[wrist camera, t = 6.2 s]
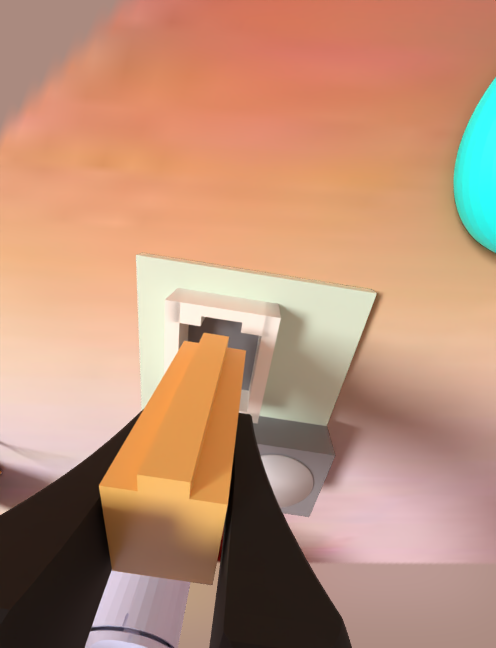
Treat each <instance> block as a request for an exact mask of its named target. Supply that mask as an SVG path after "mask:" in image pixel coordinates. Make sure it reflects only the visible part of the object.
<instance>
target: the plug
mask: <svg viewBox="0 0 496 648" xmlns="http://www.w3.org/2000/svg"><path fill="white" fill-rule="evenodd" d="M228 341H229V337H228V336H222V335H216V334H209V333H203V335H202V337H201V340H200V342H199V343H195V342H189V341H184V342H183V344H182V345H181V347H180V349H179V350H178V352H177V354H176V356H175V357H174V359H173V361H172V362H171V364H170V366H169V367H168V369H167V371H166V373H165V374H164V376H163V378H162V379H161V381H160V383H159V384H158V386H157V388H156V389H155V391H154V393H153V395H152V396H151V398H150V400H149V401H148V403H147V405H146V406H145V408H144V410H143V412H142V413H141V415H140V417H139V418H138V420H137V422H136V423H135V425H134V427H133V428H132V430H131V432H130V434H129V435H128V437H127V439H126V440H125V442H124V444H123V445H122V447H121V449H120V451H119V452H118V454H117V456H116V457H115V459H114V461H113V462H112V464H111V466H110V467H109V469H108V471H107V473H106V474H105V476H104V478H103V479H102V481H101V483H100V484H99V490H100V496H101V503H102V509H103V516H104V522H105V528H106V535H107V541H108V547H109V554H110V560H111V567H112V571H117V572H124V573H131V574H138V575H145V576H152V577H159V578H166V579H173V580H180V581H186V582H193V583H200V584H207V585H213V580H214V574H215V569H216V564H217V559H218V553H219V548H220V543H221V538H222V532H223V527H224V522H225V517H226V511H227V506H228V498H229V490H230V481H231V473H232V465H233V456H234V448H235V440H236V431H237V423H238V414H239V406H240V398H241V389H242V381H243V372H244V364H245V356H246V350H240V349H234V348H228Z"/></svg>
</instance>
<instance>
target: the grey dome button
mask: <svg viewBox="0 0 496 648" xmlns="http://www.w3.org/2000/svg"><path fill="white" fill-rule="evenodd" d="M253 427H254V432H255V437H256V441H257V445H258V449H259V452H260V455H261V459H262V462H263V465H264V468H265V471H266V474H267V477H268V479H269V482H270V485H271V487H272V490H273V492H274V495H275V497H276V499H277V502H278V504H279V506H280V508H281V511H282V513H285V514H292V515H298V516H305V517H309V516H310V514H311V512H312V509H313V507H314V505H315V502H316V500H317V498H318V495H319V493H320V490H321V488H322V486H323V483H324V481H325V479H326V476H327V474H328V472H329V469H330V467H331V465H332V462H333V460H334V458H335V453H334V449H333V446H332V442H331V439H330V436H329V432H328V429H327V426H323V425H316V424H310V423H303V422H297V421H290V420H283V419H277V418H270V417H264V416H259V419H258V424H257V423H253Z"/></svg>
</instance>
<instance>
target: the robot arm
mask: <svg viewBox="0 0 496 648" xmlns="http://www.w3.org/2000/svg"><path fill="white" fill-rule="evenodd" d="M143 410H144V409H143ZM143 410H142V411H141V412H140V413H139V414H138V415H137V416H136V417H135V418H134V419H132V420H131V421H130V422H129V423H128V424H127V425H126V426H125V427H124V428H123V429H121V430H120V431H119V432H118V433H117V434H116V435H115V436H114V437H112V438H111V439H110V440H109V441H108V442H106V443H105V444H104V445H103V446H102V447H100V448H99V449H98V450H97V451H95V452H94V453H93V454H92V455H90V456H89V457H88V458H87V459H85V460H84V461H83V462H81V463H80V464H79V465H77V466H76V467H75V468H73V469H72V470H70V471H69V472H68V473H66V474H65V475H63V476H62V477H60V478H59V479H57V480H56V481H54V482H53V483H51V484H50V485H48V486H47V487H45V488H44V489H43V490H41V491H39V492H38V493H36V494H35V495H33V496H32V497H30V498H28V499H27V500H25V501H24V502H22V503H20V504H18V505H17V506H15V507H13V508H12V509H10V510H8V511H7V512H5V513H3V514H2V515H0V648H178V643H179V638H180V633H181V628H182V623H183V618H184V613H185V608H186V602H187V597H188V592H189V587H190V582H186V581H180V580H173V579H166V578H159V577H152V576H145V575H138V574H131V573H124V572H117V571H112V567H111V560H110V554H109V547H108V541H107V535H106V528H105V522H104V516H103V509H102V503H101V496H100V490H99V484H100V483H101V481H102V479H103V478H104V476H105V474H106V473H107V471H108V469H109V467H110V466H111V464H112V462H113V461H114V459H115V457H116V456H117V454H118V452H119V451H120V449H121V447H122V445H123V444H124V442H125V440H126V439H127V437H128V435H129V434H130V432H131V430H132V428H133V427H134V425H135V423H136V422H137V420H138V418H139V417H140V415H141V413H142V412H143ZM209 648H352V646H351V643H350V640H349V636H348V633H347V630H346V627H345V624H344V622H343V619H342V617H341V615H340V614H339V612H338V611H337V609H336V608H335V606H334V604H333V603H332V601H331V600H330V598H329V597H328V595H327V594H326V592H325V590H324V589H323V587H322V585H321V584H320V582H319V580H318V579H317V577H316V575H315V574H314V572H313V570H312V568H311V567H310V565H309V563H308V561H307V560H306V558H305V556H304V554H303V552H302V550H301V548H300V547H299V545H298V543H297V541H296V539H295V537H294V535H293V533H292V531H291V529H290V528H289V526H288V523H287V521H286V519H285V517H284V515H283V513H282V511H281V508H280V506H279V504H278V502H277V499H276V497H275V495H274V492H273V490H272V487H271V485H270V482H269V479H268V477H267V474H266V471H265V468H264V465H263V462H262V459H261V455H260V452H259V449H258V445H257V441H256V437H255V432H254V427H253V420H252V416H251V415H250V414H245V413H239V414H238V423H237V431H236V440H235V448H234V456H233V465H232V473H231V481H230V490H229V498H228V506H227V511H226V517H225V522H224V536H223V546H222V554H221V562H220V570H219V577H218V586H217V593H216V601H215V608H214V616H213V624H212V632H211V639H210V647H209Z"/></svg>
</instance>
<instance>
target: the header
mask: <svg viewBox="0 0 496 648" xmlns="http://www.w3.org/2000/svg"><path fill="white" fill-rule="evenodd" d="M280 320H281V316H280V310H279V304H278V303H271V302H265V301H259V300H252V299H246V298H240V297H233V296H227V295H221V294H215V293H208V292H202V291H196V290H189V289H183V288H177V289H176V290H175V291H174V292H173V293H172V294H170V295H169V296H168V297H167V298H166V299H165V332H164V374H165V373H166V371H167V369H168V367H169V366H170V364H171V362H172V361H173V359H174V357H175V356H176V354H177V352H178V350H179V349H180V347H181V345H182V344H183V342H184V341H189V342H195V343H199V342H200V340H201V337H202V335H203V333H209V334H216V335H222V336H228V337H229V341H228V348H234V349H240V350H246V356H245V364H244V372H243V381H242V389H241V398H240V406H239V413H245V414H250V415H251V416H252V420H253V423H257V424H258V419H259V415H260V410H261V406H262V401H263V397H264V392H265V388H266V383H267V378H268V374H269V369H270V365H271V360H272V356H273V351H274V347H275V342H276V338H277V333H278V329H279V324H280Z"/></svg>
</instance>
